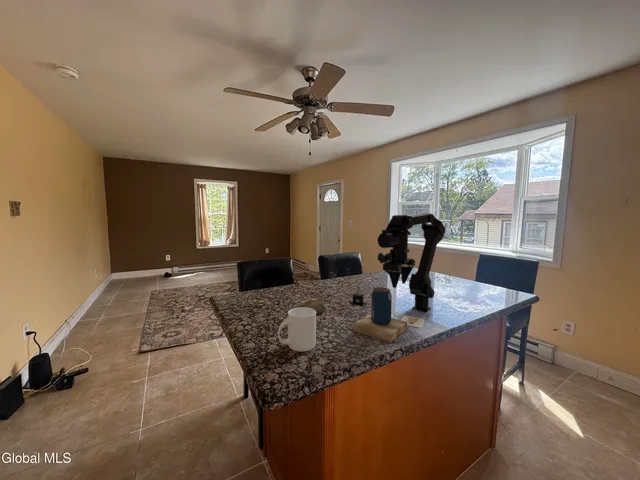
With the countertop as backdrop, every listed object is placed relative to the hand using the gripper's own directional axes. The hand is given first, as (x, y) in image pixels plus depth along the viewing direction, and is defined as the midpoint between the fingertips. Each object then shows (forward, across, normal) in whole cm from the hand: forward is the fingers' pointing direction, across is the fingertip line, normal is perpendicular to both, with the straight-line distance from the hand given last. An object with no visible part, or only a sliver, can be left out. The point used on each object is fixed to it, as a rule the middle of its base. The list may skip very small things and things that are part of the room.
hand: (399, 285), depth 104 cm
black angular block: (+14, -6, -22) cm, 27 cm away
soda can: (+11, +16, 0) cm, 19 cm away
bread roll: (+14, +17, -32) cm, 39 cm away
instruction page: (+13, +1, +6) cm, 14 cm away
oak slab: (+13, +16, 0) cm, 21 cm away
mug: (+13, +44, -14) cm, 48 cm away
